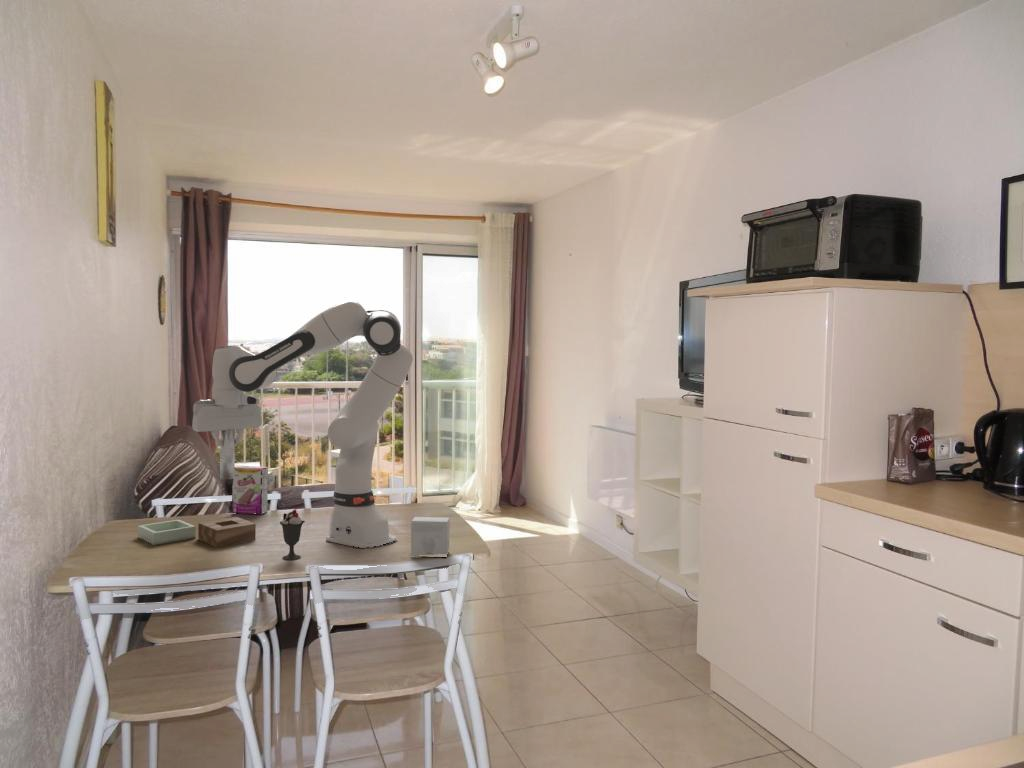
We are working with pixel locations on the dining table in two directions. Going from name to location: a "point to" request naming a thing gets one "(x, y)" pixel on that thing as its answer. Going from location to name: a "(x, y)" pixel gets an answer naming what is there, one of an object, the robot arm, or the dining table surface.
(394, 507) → the dining table surface
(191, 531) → the tray
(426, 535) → the skincare box
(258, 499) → the candy bar box
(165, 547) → the dining table surface
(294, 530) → the sundae
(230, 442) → the steel pin
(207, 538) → the socket block
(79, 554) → the dining table surface
